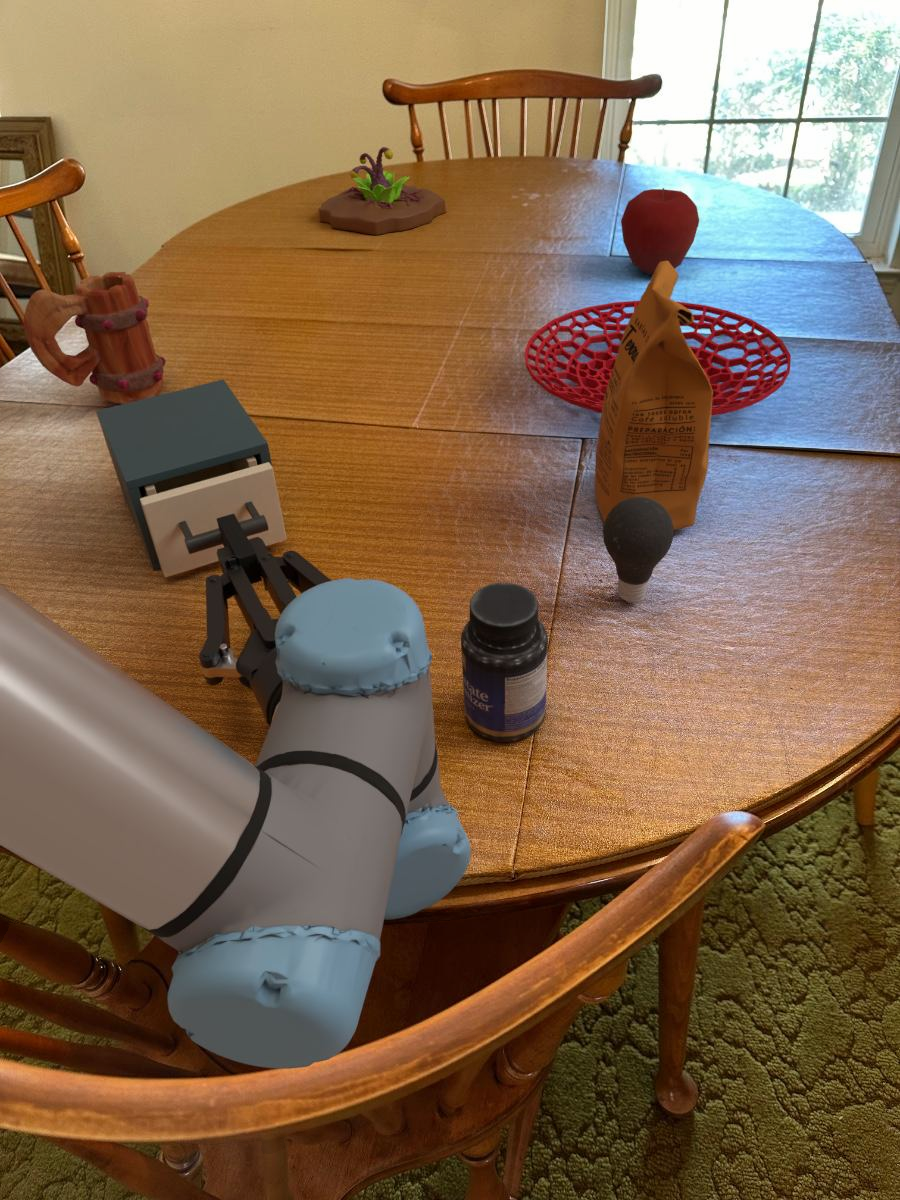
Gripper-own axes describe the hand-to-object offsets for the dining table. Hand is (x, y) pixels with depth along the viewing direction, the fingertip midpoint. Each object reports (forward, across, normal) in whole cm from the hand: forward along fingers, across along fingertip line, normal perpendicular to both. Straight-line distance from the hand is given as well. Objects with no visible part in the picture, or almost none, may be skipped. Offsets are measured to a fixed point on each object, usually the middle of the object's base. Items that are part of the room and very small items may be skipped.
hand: (228, 529), depth 79 cm
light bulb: (-18, +29, -7) cm, 35 cm away
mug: (+44, -3, -7) cm, 45 cm away
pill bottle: (-24, +13, -7) cm, 29 cm away
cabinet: (+15, 0, -7) cm, 16 cm away
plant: (+91, +52, -7) cm, 105 cm away
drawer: (+9, 0, -6) cm, 11 cm away
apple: (+43, +75, -7) cm, 87 cm away
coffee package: (-6, +39, -7) cm, 40 cm away
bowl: (+13, +53, -7) cm, 55 cm away
